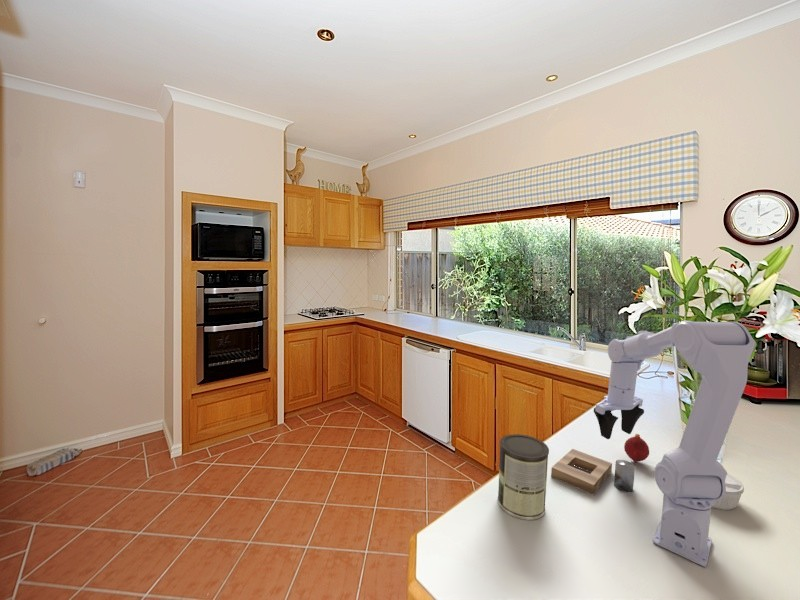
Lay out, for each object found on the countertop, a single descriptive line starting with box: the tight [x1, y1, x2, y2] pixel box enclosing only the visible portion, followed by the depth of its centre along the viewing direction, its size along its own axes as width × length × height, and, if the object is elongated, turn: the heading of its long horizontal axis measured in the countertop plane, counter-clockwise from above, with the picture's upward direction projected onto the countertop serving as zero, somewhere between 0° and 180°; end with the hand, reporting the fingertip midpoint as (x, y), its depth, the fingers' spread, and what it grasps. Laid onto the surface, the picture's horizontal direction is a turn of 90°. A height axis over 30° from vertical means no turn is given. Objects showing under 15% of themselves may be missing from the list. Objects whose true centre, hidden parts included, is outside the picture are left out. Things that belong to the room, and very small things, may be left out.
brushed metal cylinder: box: [613, 459, 636, 493], centre depth 86 cm, size 4×4×6 cm
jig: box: [550, 448, 613, 496], centre depth 92 cm, size 14×10×2 cm
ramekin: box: [711, 472, 745, 511], centre depth 83 cm, size 11×11×5 cm
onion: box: [623, 433, 650, 463], centre depth 98 cm, size 6×6×8 cm
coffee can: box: [497, 433, 550, 521], centre depth 79 cm, size 10×10×14 cm
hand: (615, 434), depth 92 cm, fingers open, 7 cm apart
